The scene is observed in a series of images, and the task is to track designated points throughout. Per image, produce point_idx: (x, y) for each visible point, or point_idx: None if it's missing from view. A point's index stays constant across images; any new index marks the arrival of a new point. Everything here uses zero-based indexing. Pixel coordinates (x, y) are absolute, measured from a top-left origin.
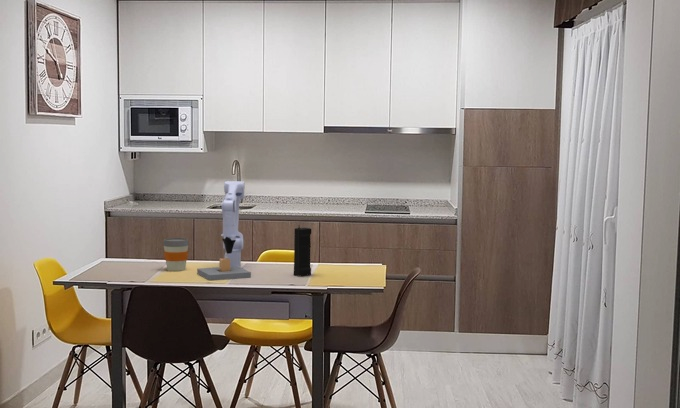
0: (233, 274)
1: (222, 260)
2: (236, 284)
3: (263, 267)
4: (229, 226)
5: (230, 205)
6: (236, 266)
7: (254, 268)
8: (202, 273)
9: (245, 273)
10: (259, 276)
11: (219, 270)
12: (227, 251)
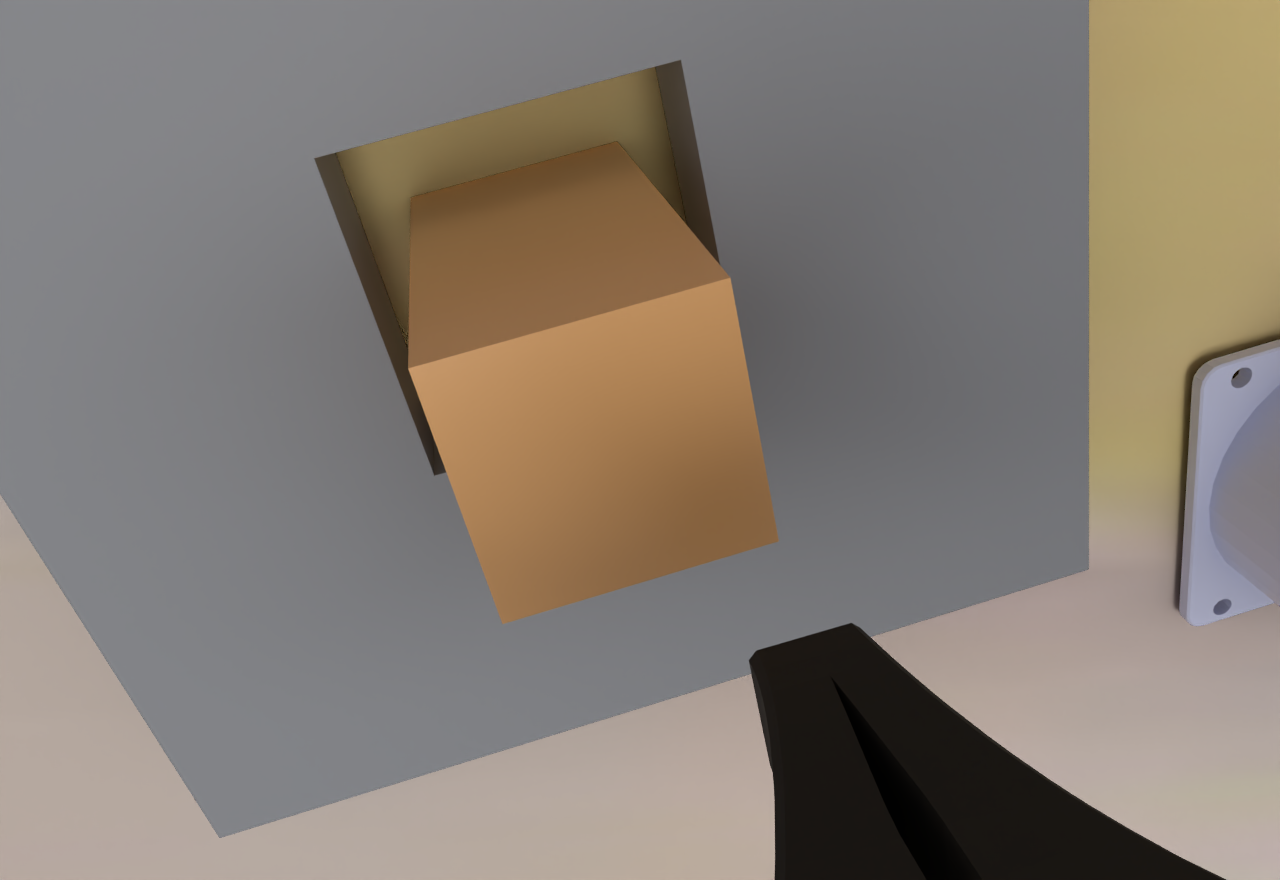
0: (26, 502)
1: (409, 371)
2: None
3: None
4: None
5: None
6: (1017, 564)
7: (1146, 761)
8: None
9: (171, 737)
10: (347, 867)
11: (695, 167)
12: (769, 711)
